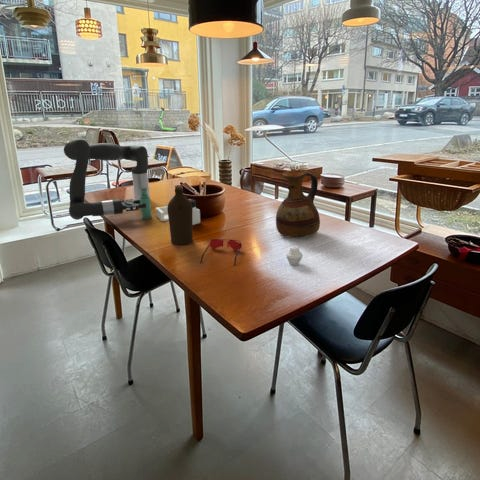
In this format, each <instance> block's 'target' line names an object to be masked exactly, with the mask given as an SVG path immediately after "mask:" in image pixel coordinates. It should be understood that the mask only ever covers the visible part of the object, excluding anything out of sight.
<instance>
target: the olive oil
mask: <svg viewBox="0 0 480 480" xmlns="http://www.w3.org/2000/svg"><path fill="white" fill-rule="evenodd" d="M188 199H189V198H187V196H185V195H184V188H183V185H181V184H177V185H175V186H174V196H172V198H171V199H170V200H169V202H168V204H167V206H168V207H167V210H168V218H169V220H168V225H169V231H170V232H169V234H170V242H171V243H172V245H176V246H185V245H189V244H191V243H192V242H193V240H194V238H193V225H192V204H191V202H190V201H189V200H188Z"/></svg>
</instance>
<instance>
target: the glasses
mask: <svg viewBox="0 0 480 480" xmlns="http://www.w3.org/2000/svg"><path fill="white" fill-rule="evenodd" d="M224 241H225V239H224V238H223V239H222V238H219V239H218V238H211V240H210V241H209V245H208V246H207V247H206V249H205V250H204V252H203V253H202V255H201V258H200V261H199V264H202V262H203V258H204V255H205V253H206V252H207V251H208V250H209V247H210V248H211V249H213V250H214V249H217V248H221V247H222V248H223V247H224ZM226 243H227V245H226V247H227V248H229V247H230V248H231V249H232V250H234V251H237V252H236V254H235V257H234V262H233V264H234V265H233V266H234V267H235V266H236V264H237V263H236V261H237V258H238V255H239V252H240V250H241V248H242V246H243V244H242V243H241V241H239V240H236V239H229V240H227V242H226Z"/></svg>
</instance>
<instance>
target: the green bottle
mask: <svg viewBox="0 0 480 480" xmlns="http://www.w3.org/2000/svg"><path fill="white" fill-rule="evenodd" d="M141 190H142V195H141V197H140V204H143V203H145V204H146V208H140V216H141V219H142V220H150V219H152V217H153V216H152V215H153V214H152V207H151V203H152V202H151V196H150V197H149V196H148V195H147V188H146V187H143V188H141Z"/></svg>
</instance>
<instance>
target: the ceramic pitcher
mask: <svg viewBox="0 0 480 480" xmlns="http://www.w3.org/2000/svg"><path fill="white" fill-rule="evenodd" d="M282 176H283V177H284V178H285V180H287V189H288V194H287V197H285V198H284V199H283V201H281V203H280V205H279V206H278V208H277V211H276V216H275V227H276V230H277V232H278V233H279V234H280V235H282V236H284V237H288V238H297V239H298V238H304V237H309V236H313V235H314V234H315V233H317V232H319V230H320V226H321V219H320V214H319V211H318V209H317V207H316V205H315V204H314V203H315V202H314V201H315V197H316V194H317V191H318V185H319V184H318V183H319V181H318V179H317V177H316V176H315V174H313V173H312V172H309V171H308V170H305V169H293V170H286V171H283V172H282ZM306 177H310V181H311V182H310V184H311V185H310V189H309V192H308V195H304V192H303V186H302V185H303V180H304V178H306Z"/></svg>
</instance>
